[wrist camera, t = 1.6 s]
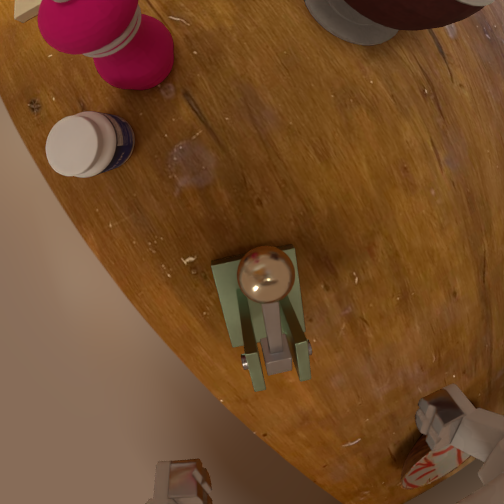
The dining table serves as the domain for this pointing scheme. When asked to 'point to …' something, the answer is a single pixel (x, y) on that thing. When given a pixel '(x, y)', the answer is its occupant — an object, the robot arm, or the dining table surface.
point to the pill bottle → (89, 144)
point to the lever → (269, 299)
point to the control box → (26, 9)
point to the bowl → (429, 464)
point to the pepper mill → (110, 39)
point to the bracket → (261, 319)
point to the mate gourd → (387, 16)
